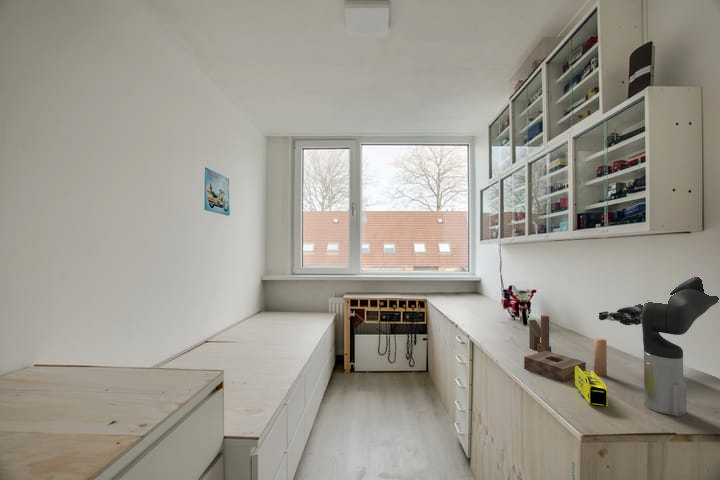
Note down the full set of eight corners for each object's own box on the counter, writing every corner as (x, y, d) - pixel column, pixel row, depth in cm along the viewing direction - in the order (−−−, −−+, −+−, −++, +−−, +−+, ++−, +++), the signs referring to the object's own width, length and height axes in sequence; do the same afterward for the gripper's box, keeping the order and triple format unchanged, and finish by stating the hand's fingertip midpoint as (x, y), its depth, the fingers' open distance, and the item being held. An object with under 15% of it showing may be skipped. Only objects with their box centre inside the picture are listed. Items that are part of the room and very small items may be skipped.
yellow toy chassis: (573, 386, 121) (573, 363, 121) (591, 388, 119) (591, 365, 119) (587, 406, 106) (587, 380, 106) (608, 409, 104) (608, 382, 104)
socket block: (585, 374, 132) (585, 361, 132) (563, 382, 124) (563, 368, 124) (546, 362, 146) (546, 350, 146) (524, 368, 138) (524, 356, 138)
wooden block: (535, 347, 168) (535, 312, 168) (551, 354, 157) (551, 316, 158) (529, 347, 167) (529, 312, 167) (545, 354, 157) (544, 316, 157)
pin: (608, 375, 131) (608, 340, 132) (603, 377, 129) (603, 341, 130) (597, 372, 135) (597, 337, 135) (592, 373, 133) (592, 339, 133)
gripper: (650, 327, 140) (631, 332, 133) (612, 320, 153) (593, 325, 145) (650, 309, 140) (631, 313, 133) (611, 304, 153) (592, 308, 145)
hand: (611, 319), depth 139 cm, fingers open, 8 cm apart
